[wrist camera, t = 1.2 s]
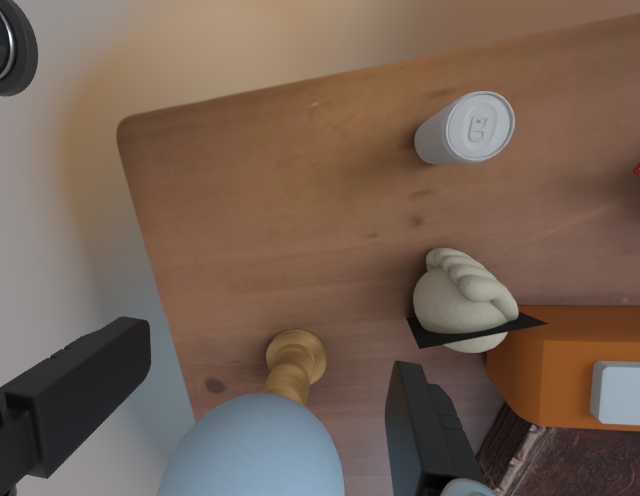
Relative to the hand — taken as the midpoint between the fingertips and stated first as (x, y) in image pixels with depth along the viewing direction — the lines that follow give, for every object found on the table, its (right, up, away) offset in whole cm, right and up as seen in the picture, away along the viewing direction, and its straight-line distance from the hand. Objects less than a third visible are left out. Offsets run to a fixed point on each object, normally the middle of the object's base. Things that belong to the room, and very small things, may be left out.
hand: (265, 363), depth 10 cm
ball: (-3, -14, +21) cm, 25 cm away
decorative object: (+16, 0, +27) cm, 31 cm away
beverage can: (+14, +15, +23) cm, 31 cm away
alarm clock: (+33, -7, +26) cm, 43 cm away
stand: (-1, -11, +31) cm, 33 cm away
